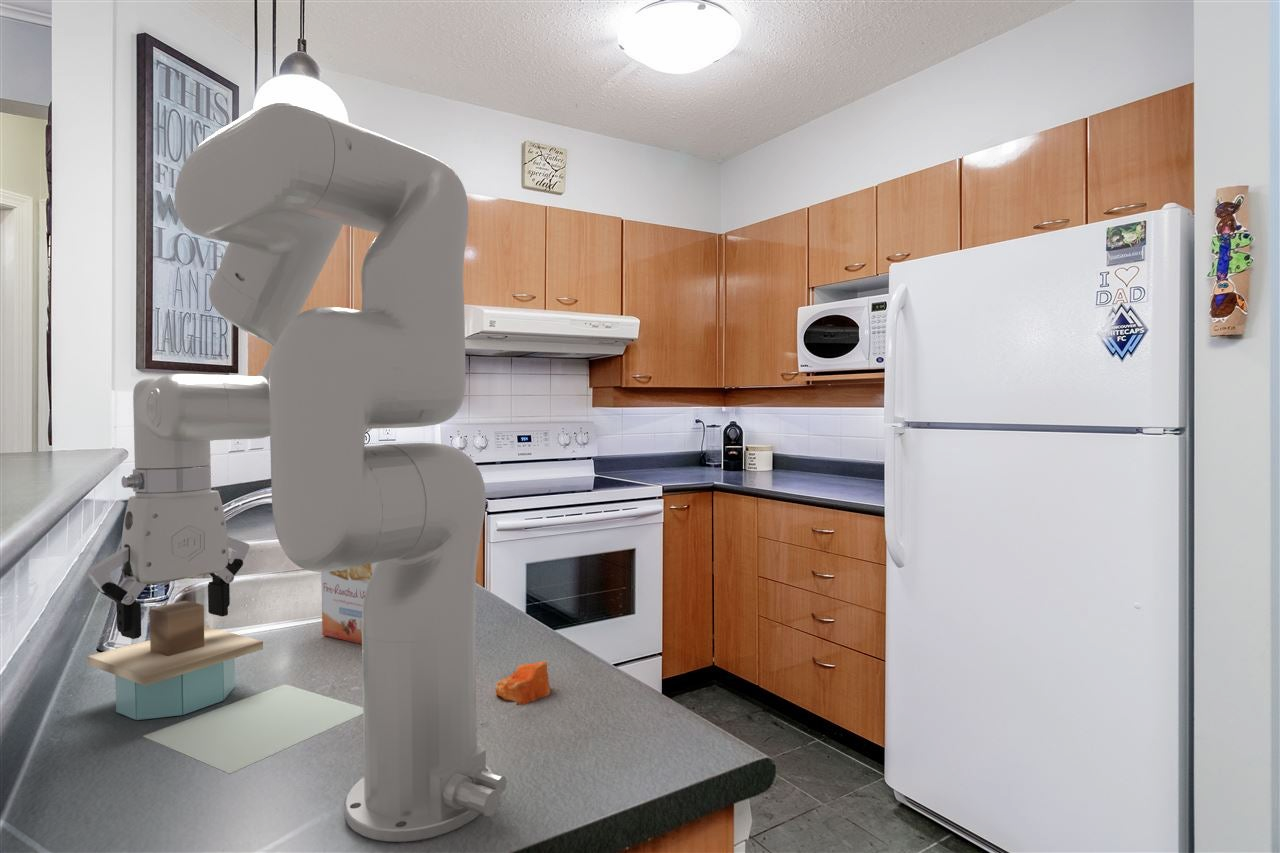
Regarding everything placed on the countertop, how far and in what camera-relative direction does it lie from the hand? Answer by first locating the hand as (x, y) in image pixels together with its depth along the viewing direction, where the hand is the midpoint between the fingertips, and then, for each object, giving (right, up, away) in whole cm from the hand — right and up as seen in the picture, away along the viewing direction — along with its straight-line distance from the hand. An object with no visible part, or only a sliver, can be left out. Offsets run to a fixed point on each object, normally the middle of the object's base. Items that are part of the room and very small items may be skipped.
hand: (176, 625), depth 83 cm
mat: (+14, -9, -6) cm, 18 cm away
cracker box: (+13, -9, +24) cm, 29 cm away
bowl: (0, -9, 0) cm, 9 cm away
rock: (+41, -10, +2) cm, 42 cm away
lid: (0, -4, 0) cm, 4 cm away
